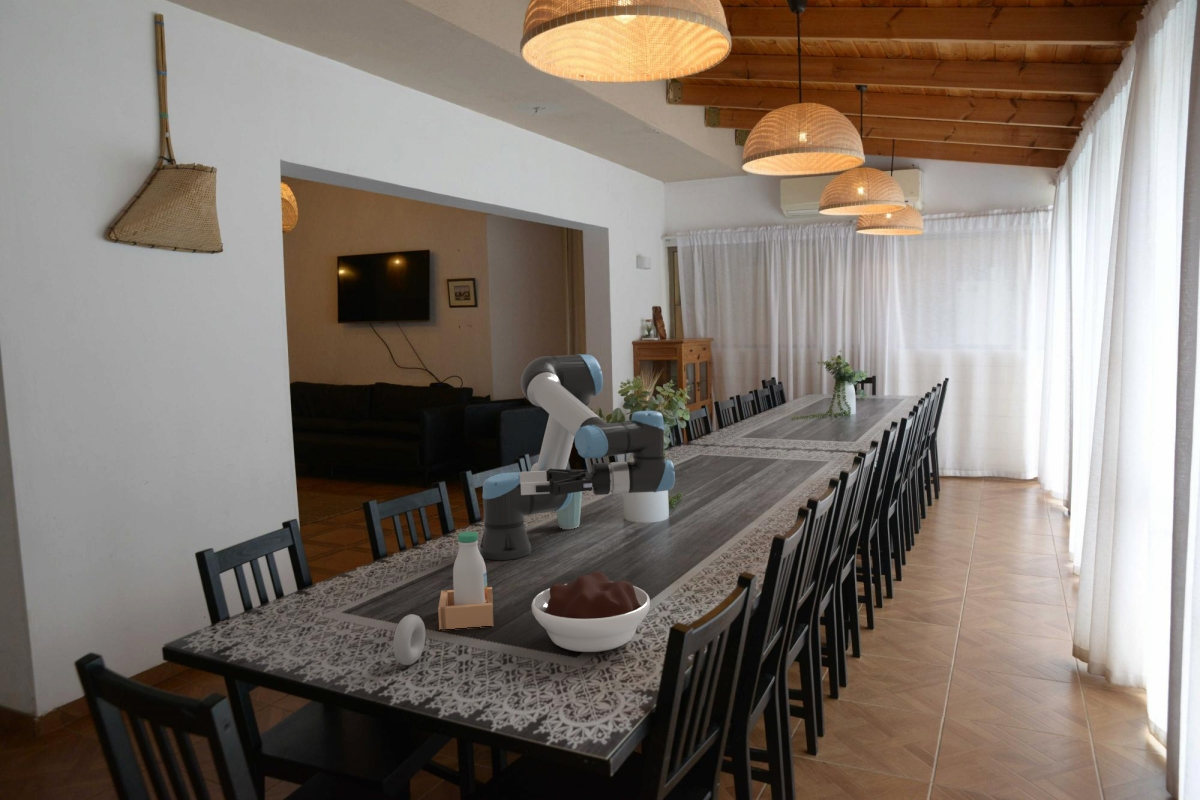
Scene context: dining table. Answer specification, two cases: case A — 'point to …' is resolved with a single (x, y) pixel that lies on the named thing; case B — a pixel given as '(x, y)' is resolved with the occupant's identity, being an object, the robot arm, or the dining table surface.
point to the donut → (409, 639)
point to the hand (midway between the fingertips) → (520, 483)
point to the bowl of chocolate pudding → (591, 612)
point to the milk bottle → (469, 572)
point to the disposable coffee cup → (570, 513)
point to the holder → (464, 612)
